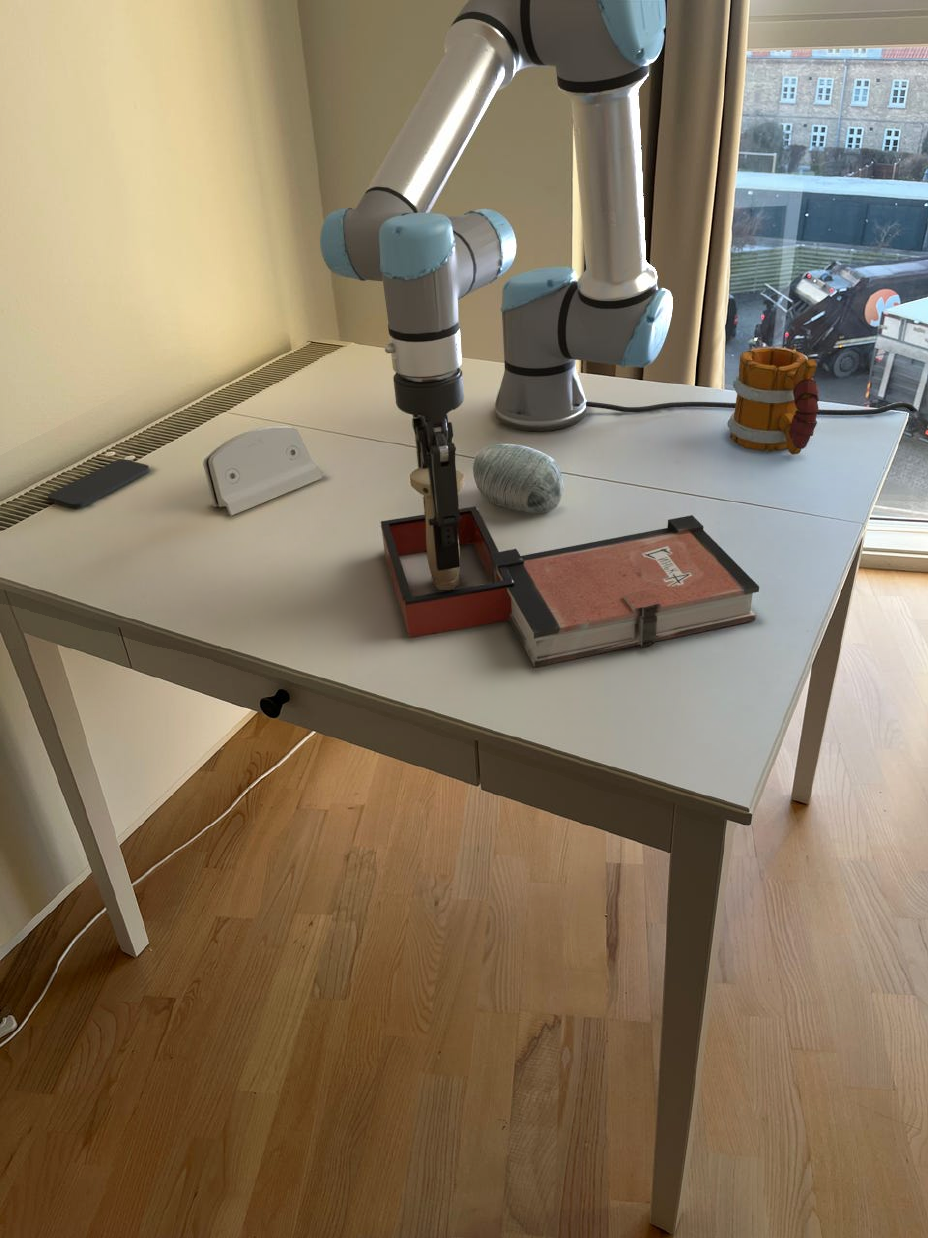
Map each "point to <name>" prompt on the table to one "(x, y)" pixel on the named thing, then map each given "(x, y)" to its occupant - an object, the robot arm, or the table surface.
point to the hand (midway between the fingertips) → (443, 554)
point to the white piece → (258, 467)
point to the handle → (422, 485)
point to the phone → (98, 483)
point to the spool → (518, 478)
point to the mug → (774, 400)
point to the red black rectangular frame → (447, 605)
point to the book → (623, 592)
